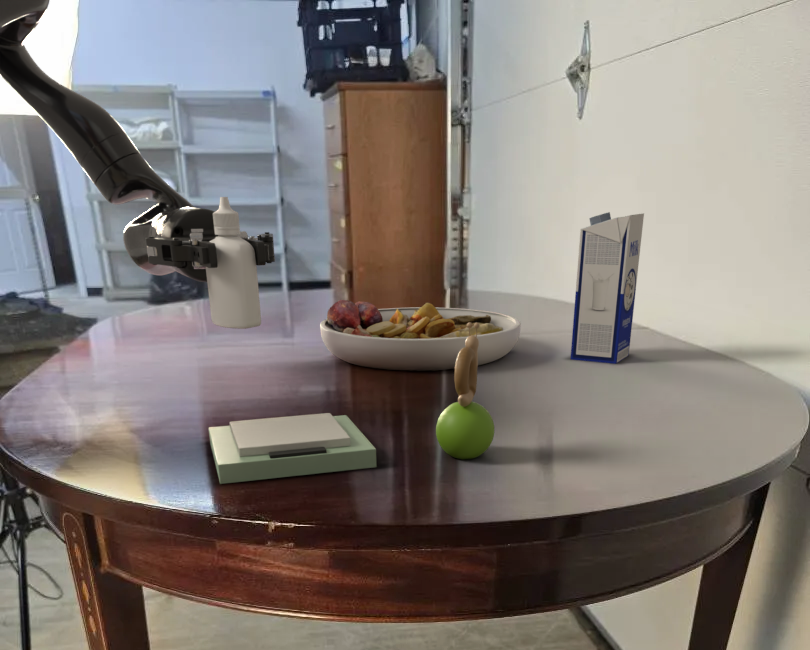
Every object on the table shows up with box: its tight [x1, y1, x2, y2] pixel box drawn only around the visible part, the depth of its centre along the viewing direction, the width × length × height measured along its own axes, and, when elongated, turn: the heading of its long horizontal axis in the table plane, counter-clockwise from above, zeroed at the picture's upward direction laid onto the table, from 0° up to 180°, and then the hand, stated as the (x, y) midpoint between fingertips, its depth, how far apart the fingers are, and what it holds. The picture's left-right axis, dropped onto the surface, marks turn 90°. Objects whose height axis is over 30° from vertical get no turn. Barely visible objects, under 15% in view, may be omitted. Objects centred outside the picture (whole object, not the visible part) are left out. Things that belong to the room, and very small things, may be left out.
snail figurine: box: [435, 322, 495, 460], centre depth 71 cm, size 5×6×12 cm
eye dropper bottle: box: [206, 196, 262, 330], centre depth 76 cm, size 4×6×12 cm
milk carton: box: [570, 211, 645, 365], centre depth 110 cm, size 7×7×20 cm
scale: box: [208, 412, 377, 485], centre depth 73 cm, size 14×12×3 cm
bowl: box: [319, 299, 522, 372], centre depth 117 cm, size 30×30×8 cm
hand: (237, 254), depth 74 cm, fingers closed on eye dropper bottle, 4 cm apart
